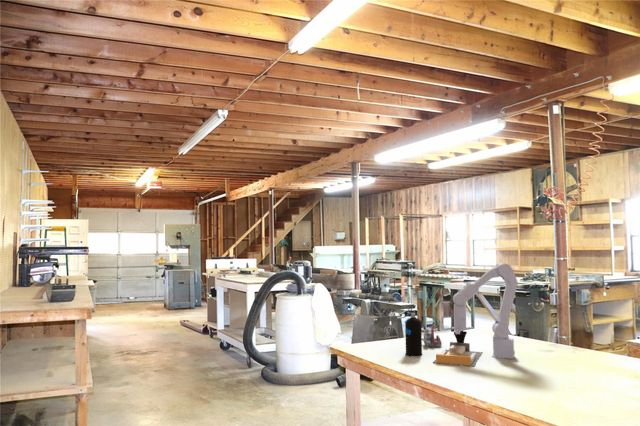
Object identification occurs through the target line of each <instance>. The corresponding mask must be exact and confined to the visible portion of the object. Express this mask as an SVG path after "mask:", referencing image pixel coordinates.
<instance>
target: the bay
mask: <svg viewBox="0 0 640 426" xmlns="http://www.w3.org/2000/svg"><path fill="white" fill-rule="evenodd" d="M447 349H448V348H447ZM447 349H445V350H442V352H441V353H436V354H435V360H433V362H432V364H438V363H439V364H441V365H449V364H452V365H451V366H460V365H463V367H471V366H472V367H473V368H474V367H476V365H477V363H478V361H479V359H480V358H481V357H482V354H483V353H484V352H483V351H472V350H470V354H469V356H458V355H446V354H447V353H448V352H449V349H448V350H447Z"/></svg>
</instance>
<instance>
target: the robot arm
mask: <svg viewBox="0 0 640 426" xmlns="http://www.w3.org/2000/svg"><path fill="white" fill-rule="evenodd" d="M493 278H502V280H503V282H504V283H505V287H504V292H503V295H502V299H501V304H500V307H499V312H498V315H497V317H496V320H495V322H494V323H493V325H492V332H493V335H492V343H493V344H492V353H493V354H492V355H491V358H496V359H497V358H499V359H509V360H513V359H514V357H515V355H516V353H515V352H516V351H515V342H514V341H515V340H514V338H510V328H509V325H510V316H511V312H512V308H513V304H514V301H515V296H516V292H517V288H518V285H519V284H518V280H517V276H516V274H515V270H514V269H513V267H512V266H511V265H510V264H508V263H506V262H499V263H497V264H496V265H494V266H492V267H491V268H489V270H487V271H486V272H485V273H484V274H483V275H482V276H480V278H478V279H476V281H475V282H469V283H468V282H467V283H466V284H465V286H464V287H463V288H462V289H460V290H458V292H457V293H455V294H454V295H453V297H452V302H453V326H452V327H451V329H452V330H454V332H453V335H454V338H455V340H456V342H459V343H465V339H466V335H467V334H468V332H467V330H468V329H467V309H466V304H467V301H469V300H470V299H472V298H473V297H474V296H475V295H476V294H478V293H479V292H480V290H479V289H480V288H481V287H482V286H484V285H485V284H487V283H488V282H489V281H490V280H491V279H493Z"/></svg>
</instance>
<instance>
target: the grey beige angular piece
mask: <svg viewBox="0 0 640 426" xmlns="http://www.w3.org/2000/svg"><path fill="white" fill-rule="evenodd" d="M470 346H471V345H470V342H464V343H459V342H457V341H456V342H455V341H449V349H448V350H449V352H448V353H447V354H446V355H458V356H469V354H470V351H471V349H470Z"/></svg>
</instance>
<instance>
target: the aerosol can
mask: <svg viewBox="0 0 640 426" xmlns="http://www.w3.org/2000/svg"><path fill="white" fill-rule="evenodd" d="M422 323H423V322H422V321H421V320H420V319H419V318H417V317H416V312H411V313H410V317H408V318H407V319H406V320H405V321H404V324H405V330H404V331H405V356H407V357H412V356H414V357H421V356H424V355H423V347H422V346H423V345H422V344H423V343H422V342H423V341H422V337H423V335H422V332H423V331H422Z"/></svg>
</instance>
